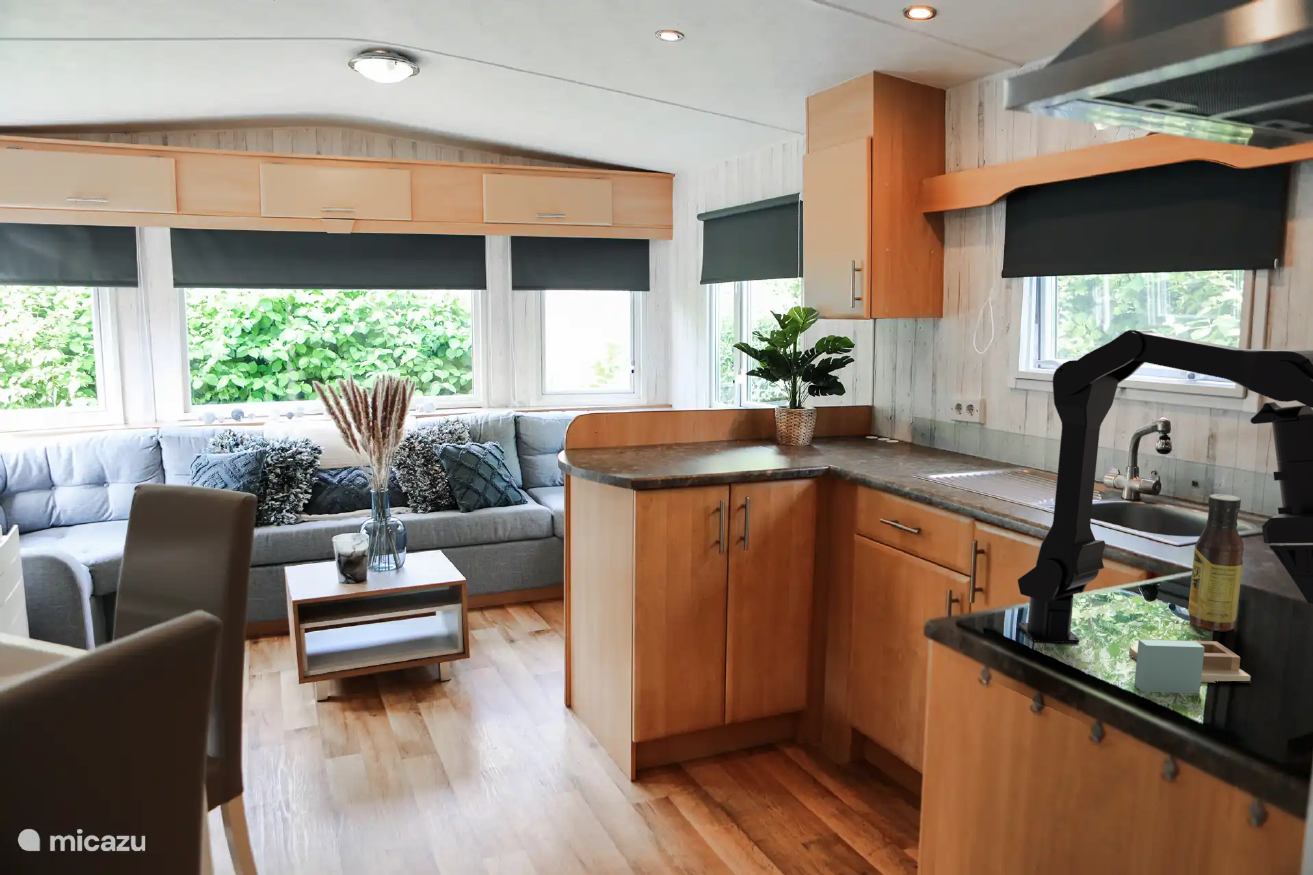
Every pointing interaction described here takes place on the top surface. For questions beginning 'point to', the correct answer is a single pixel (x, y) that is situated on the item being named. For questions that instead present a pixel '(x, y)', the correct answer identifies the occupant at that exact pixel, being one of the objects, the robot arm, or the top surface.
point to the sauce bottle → (1217, 567)
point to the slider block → (1169, 666)
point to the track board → (1215, 663)
